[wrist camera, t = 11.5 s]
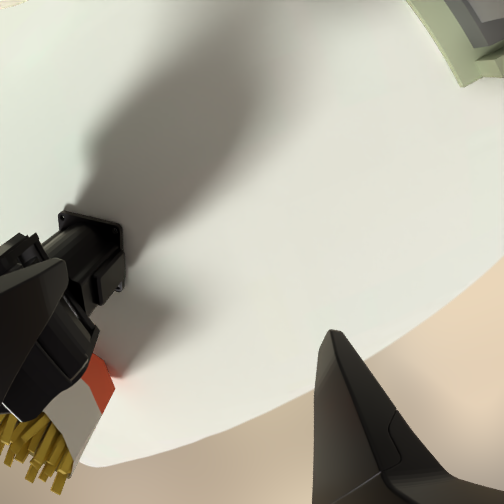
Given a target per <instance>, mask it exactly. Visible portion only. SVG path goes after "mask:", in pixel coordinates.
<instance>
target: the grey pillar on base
mask: <svg viewBox="0 0 504 504" xmlns="http://www.w3.org/2000/svg"><path fill="white" fill-rule="evenodd" d="M444 2H445V3H446V4H447V6H448V7H449V9H450V10H451V12H452V13H453V15H454V16H455V18H456V19H457V21H458V23H459V24H460V26H461V27H462V29H463V31H464V32H465V34H466V36H467V37H468V39H469V41H470V43H471V44H472V46H473V48H480V47H488V46H491V45H493V44H495V43H497V42H499V41H501V40H504V0H444Z"/></svg>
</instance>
